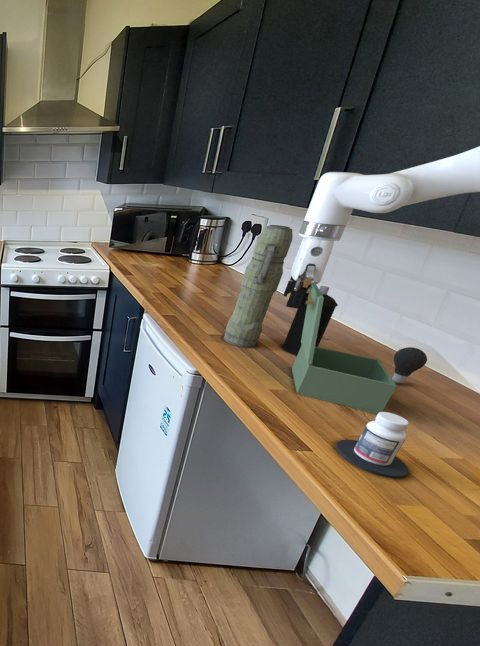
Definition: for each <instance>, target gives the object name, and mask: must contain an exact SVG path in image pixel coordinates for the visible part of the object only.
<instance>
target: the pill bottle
mask: <svg viewBox="0 0 480 646" xmlns="http://www.w3.org/2000/svg"><path fill="white" fill-rule="evenodd" d="M408 426H409V421H408V420H407V419H406V418H404V417H402V416H401V415H398V414H396V413H393V412H388V411H383V412H379V413H378V414H376V417H375V418H374V420H372V421H371V420H370V421H369V422H367V424H366V425H365V427H364V429H363V431H362V432H361V435H360V436H359V439H358V440H357V441H358V442H357V444H356V446H355V448H354V451H355V453H356V454H357V455H358V456H359V457H361V458H363V459H364V460H366V461H368V462H371V463H374V464H377V465H383V466H386V465H390V464H391V463H392V461H393V460H394V458H395V456H396V457H397V454H398V453H399V451H400V449H401V447H402V446H403V444H404V443H405V441H406V439H407V434H406V432H405V431H406V430H407V428H408Z"/></svg>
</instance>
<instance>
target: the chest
mask: <svg viewBox="0 0 480 646" xmlns="http://www.w3.org/2000/svg"><path fill="white" fill-rule="evenodd" d="M291 371H292V376H293V377H292V378H293V382H294V386H295V391H296V394H298V395H303V396H306V397H310V398H314V399H318V400H322V401H326V402H329V403H334V404H338V405H341V406H343V407H344V406H345V407H349V408H352V409H356V410H359V411H360V410H361V411H365V412H368V413H371V414H375V415H378V413H379V412H384V410H385V408H386V406H387V404H388V402H389V401H390V399H391V397H392V396H393V394H394V392H395V390H396V388H397V383H394V381H393V380H392V376H391V375H390V374H389V372H388V371H387V370H386V368H385V366H384V365H383V363H382V362H381V360H380V359H377V358H373V357H368V356H363V355H358V354H354V353H349V352H345V351H339V350H335V349H329V348H324V347H319V346H318V347H316V346H315V350H314V356H313V361H312V364H307V360H306V357H305V354H304V350H303V347H302V345H301V348H300V350H299V353H298V355H296V357H295V360H294V362H293V364H292V367H291Z"/></svg>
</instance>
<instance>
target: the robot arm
mask: <svg viewBox="0 0 480 646" xmlns="http://www.w3.org/2000/svg"><path fill="white" fill-rule="evenodd" d="M472 193H480V145H478V146H477V147H473V148H472V149H469V150H466V151H464V152H461V153H458V154H455V155H452V156H447V157H445V158H441V159H438V160H434V161H430V162H427V163H424V164H423V163H422V164H420V165H417V166H416V165H415V166H413V167H409V168H404V169H402V170H397V171H394V172H390V173H383V174H381V173H380V174H362V173H358V172H346V171H345V172H344V171H342V172H341V171H328V172H325V173H324V174H322V175H321V176H320V178H319V179H318V181H317V184H316V187H315V190H314V193H313V195H312V197H311V200H310V203H309V206H308V208H307V211H306V214H305V217H304V219H303V222H302V223H301V227H300V229H299V231H298V236H299V237H301V238H302V240H301V243H300V245H299V248H298V250H297V253H296V255H295V258H294V261H293V264H292V266H291V269H290V274H291V276H290V278H289V280H288V281H287V284H286V287H285V289H284V292H283V294H282V295H283V297H286V298H287V294H289V293H291V294H290V296H289V299H288V300H287V302H286V304H285V306H286V307H287V308H291V309H296V310H297V309H303V308H304V305H305V303H306V300H307V298H308V296H309V292H310V289H311V285H312V282H314V283H315V284H316V285H318V284H320V283H321V281H322V278H323V275H324V273H325V270H326V268H327V266H328V262H329V259H330V257H331V253H332V251H333V247H334V243H335V242H338V241H341V238H342V237H343V234H344V231H345V230H346V227H347V225H348V222H349V220H350V218H351V215H352V214H353V211H354V210H358V211H363V212H369V213H373V214H386V213H390V212H394V211H396V210H398V209H400V208H402V207H405V206H409V205H413V204H418V203H422V202H427V201H431V200H436V199H440V198H445V197H450V196H457V195H461V194H472Z"/></svg>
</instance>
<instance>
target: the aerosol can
mask: <svg viewBox="0 0 480 646" xmlns="http://www.w3.org/2000/svg"><path fill="white" fill-rule="evenodd" d="M318 289H319V290H320V292H321V294H322V296H323V297H324V300H323V306H322V311H321V317H320V322H319V328H318V333H317V339H316V344H315V346H316V347H319V346H320V343H321V341H322V339H323V337H324V334H325V332H326V330H327V328H328V325H329V323H330V322H331V319H332V317H333V314H334V312H335V309H336V308H337V307H338V306H339V304H338V303H337V301H336V300H335V298H333V296H331V295H329V294H328V293H329V290H330V287H329V286H326V285H320V286H319V288H318ZM306 301H308V299H307V300H306ZM306 309H307V304H305V305H304V308H303V309H296V311H295V315H294V317H293V319H292V322H291V324H290V326H289V330H288V331H287V335H286V337H285V339H284V341H283V344H282V345H281V350H283V351H285V352H287V353H289V354H292V355H294V356H297V355H298V353H299V350H300V348H301V345H302V344H301V339H302V333H303V327H304V321H305V315H306Z"/></svg>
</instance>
